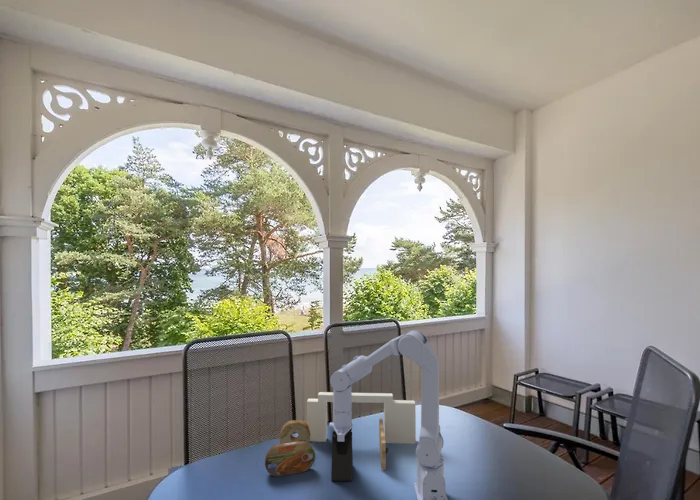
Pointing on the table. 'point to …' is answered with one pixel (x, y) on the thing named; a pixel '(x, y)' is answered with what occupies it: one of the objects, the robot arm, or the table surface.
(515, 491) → the table surface
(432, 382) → the robot arm
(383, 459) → the door
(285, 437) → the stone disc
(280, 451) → the tin
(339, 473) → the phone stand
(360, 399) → the door frame
